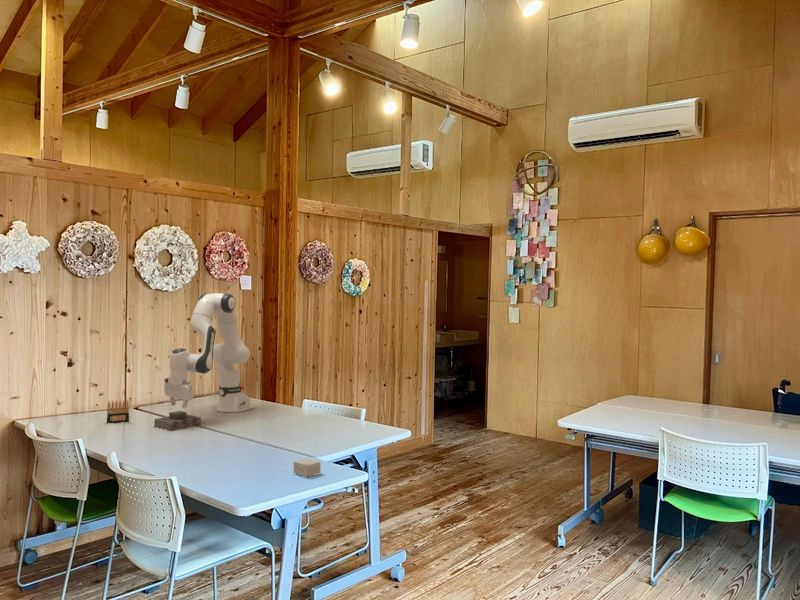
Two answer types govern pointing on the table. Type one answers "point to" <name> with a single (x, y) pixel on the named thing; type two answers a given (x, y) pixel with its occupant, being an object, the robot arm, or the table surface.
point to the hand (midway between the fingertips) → (178, 406)
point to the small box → (307, 467)
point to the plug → (177, 415)
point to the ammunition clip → (118, 412)
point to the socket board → (177, 422)
